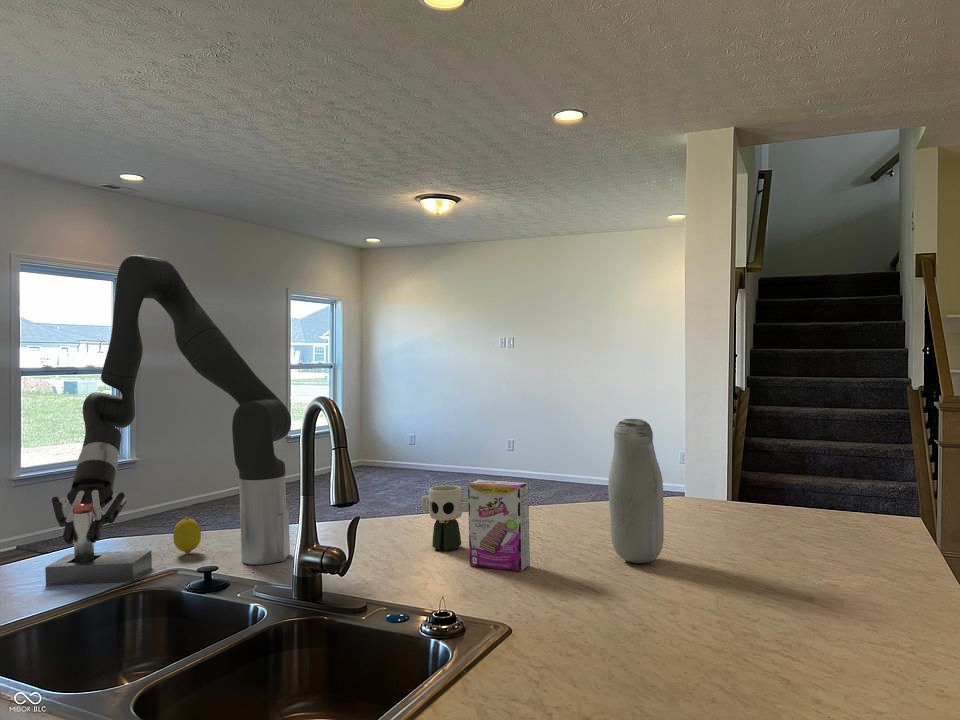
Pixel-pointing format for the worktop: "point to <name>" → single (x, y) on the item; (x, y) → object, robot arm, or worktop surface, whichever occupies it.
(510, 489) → the candy bar box
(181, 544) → the lemon
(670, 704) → the worktop surface
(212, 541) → the worktop surface
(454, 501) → the character mug
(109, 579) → the grey block with hole
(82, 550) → the pin
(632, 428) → the grey bottle
